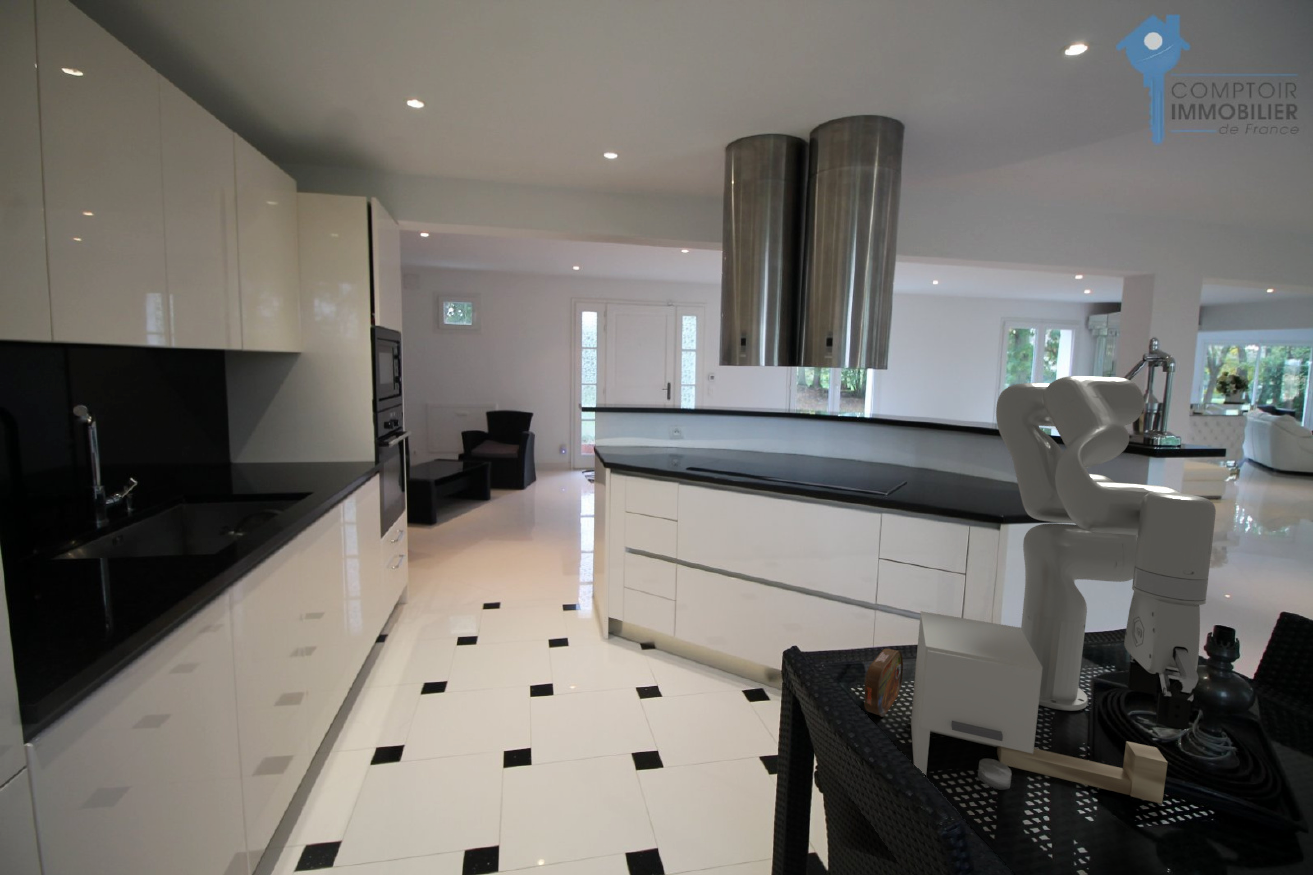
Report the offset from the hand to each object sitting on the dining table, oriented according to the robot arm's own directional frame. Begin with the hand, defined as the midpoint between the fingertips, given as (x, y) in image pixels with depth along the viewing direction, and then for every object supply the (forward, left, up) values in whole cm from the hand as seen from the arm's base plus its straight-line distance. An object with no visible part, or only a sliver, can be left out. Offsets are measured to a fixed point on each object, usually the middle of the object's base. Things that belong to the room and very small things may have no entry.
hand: (1155, 707), depth 80 cm
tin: (-10, -34, -13) cm, 38 cm away
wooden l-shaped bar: (-1, -8, -13) cm, 15 cm away
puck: (+5, -19, -13) cm, 24 cm away
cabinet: (+2, -23, -13) cm, 26 cm away
